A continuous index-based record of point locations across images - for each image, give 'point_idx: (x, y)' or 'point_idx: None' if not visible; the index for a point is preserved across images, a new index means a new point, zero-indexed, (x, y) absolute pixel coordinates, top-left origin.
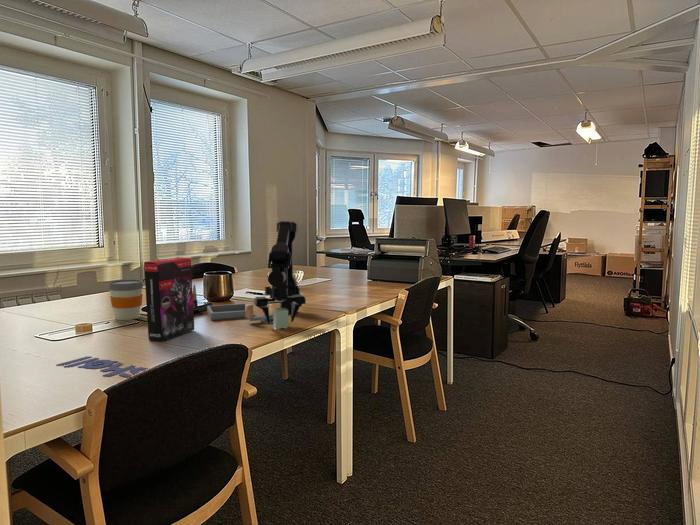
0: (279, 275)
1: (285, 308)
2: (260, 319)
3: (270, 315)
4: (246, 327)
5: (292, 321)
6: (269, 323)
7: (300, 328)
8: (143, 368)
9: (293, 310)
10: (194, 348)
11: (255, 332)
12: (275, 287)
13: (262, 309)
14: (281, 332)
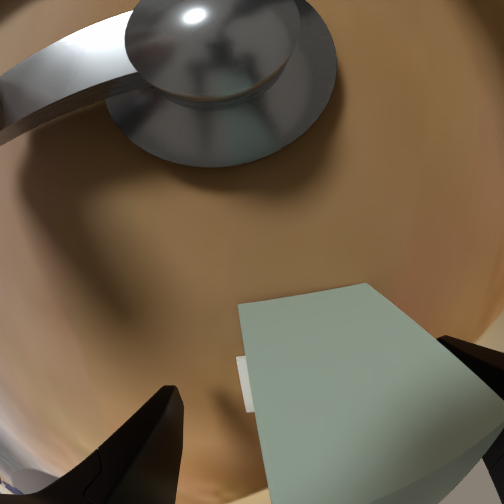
0: None
1: (491, 442)
2: (81, 104)
3: (231, 16)
4: (6, 263)
5: None
6: (203, 166)
7: None
8: (14, 490)
9: (494, 452)
10: (5, 459)
11: (100, 418)
12: None
13: (42, 501)
14: None
